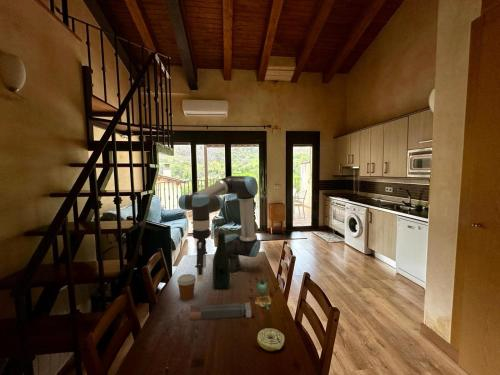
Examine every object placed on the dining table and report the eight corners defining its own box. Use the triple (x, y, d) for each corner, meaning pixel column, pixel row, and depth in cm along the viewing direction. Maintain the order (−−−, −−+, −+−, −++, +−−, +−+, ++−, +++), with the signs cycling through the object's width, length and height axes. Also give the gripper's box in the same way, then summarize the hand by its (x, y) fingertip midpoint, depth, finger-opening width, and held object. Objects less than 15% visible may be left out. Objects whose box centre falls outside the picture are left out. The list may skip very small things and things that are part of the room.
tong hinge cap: (244, 309, 118) (244, 302, 118) (249, 309, 118) (249, 302, 118) (246, 318, 111) (246, 310, 111) (251, 318, 112) (251, 310, 111)
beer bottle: (228, 281, 149) (228, 228, 146) (231, 290, 139) (231, 233, 136) (211, 283, 146) (211, 229, 143) (213, 292, 136) (213, 234, 133)
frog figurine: (253, 313, 117) (253, 282, 117) (252, 297, 135) (252, 270, 135) (273, 313, 117) (273, 282, 117) (269, 297, 135) (269, 270, 135)
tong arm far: (191, 313, 114) (190, 306, 114) (244, 309, 117) (244, 302, 117) (190, 316, 112) (190, 309, 112) (244, 312, 115) (244, 305, 115)
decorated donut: (284, 355, 91) (284, 345, 91) (256, 352, 92) (256, 343, 92) (284, 335, 102) (284, 327, 101) (258, 333, 103) (258, 325, 102)
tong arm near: (190, 316, 112) (190, 309, 112) (244, 313, 115) (244, 306, 114) (189, 319, 110) (189, 312, 109) (245, 316, 112) (245, 309, 112)
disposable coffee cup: (174, 299, 128) (173, 277, 127) (189, 293, 135) (189, 272, 134) (184, 306, 122) (183, 283, 121) (199, 299, 129) (199, 277, 128)
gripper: (195, 222, 121) (196, 263, 123) (188, 237, 97) (189, 288, 99) (211, 222, 122) (211, 262, 124) (207, 236, 98) (208, 287, 100)
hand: (201, 274), depth 111 cm, fingers open, 13 cm apart
